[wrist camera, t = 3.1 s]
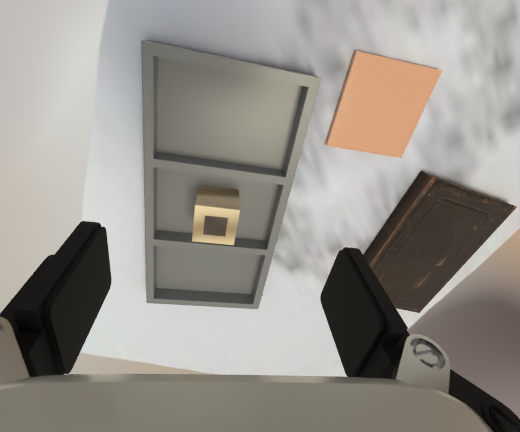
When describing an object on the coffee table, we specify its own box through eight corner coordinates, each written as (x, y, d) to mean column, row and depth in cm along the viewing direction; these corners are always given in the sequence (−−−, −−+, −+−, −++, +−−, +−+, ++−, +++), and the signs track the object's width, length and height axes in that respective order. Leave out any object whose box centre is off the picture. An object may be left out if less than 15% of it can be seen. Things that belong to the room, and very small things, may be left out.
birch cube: (199, 185, 36) (195, 205, 31) (238, 190, 37) (240, 210, 32) (196, 218, 38) (191, 241, 34) (233, 222, 39) (233, 245, 35)
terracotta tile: (354, 50, 30) (357, 50, 29) (438, 69, 31) (441, 70, 31) (325, 143, 35) (326, 145, 34) (398, 156, 37) (401, 157, 36)
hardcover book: (504, 199, 43) (517, 207, 41) (412, 303, 53) (419, 313, 51) (418, 168, 38) (428, 175, 37) (338, 287, 49) (342, 297, 47)
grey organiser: (148, 40, 28) (141, 40, 25) (314, 75, 31) (321, 78, 28) (150, 290, 45) (146, 302, 43) (256, 296, 48) (258, 309, 46)
